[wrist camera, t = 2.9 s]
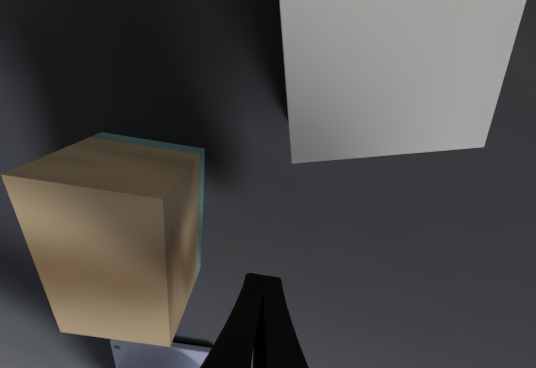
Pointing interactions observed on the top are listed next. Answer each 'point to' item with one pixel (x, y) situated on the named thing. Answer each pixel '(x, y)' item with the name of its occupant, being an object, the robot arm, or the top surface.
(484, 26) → the grey block
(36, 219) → the oak block
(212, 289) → the top surface
